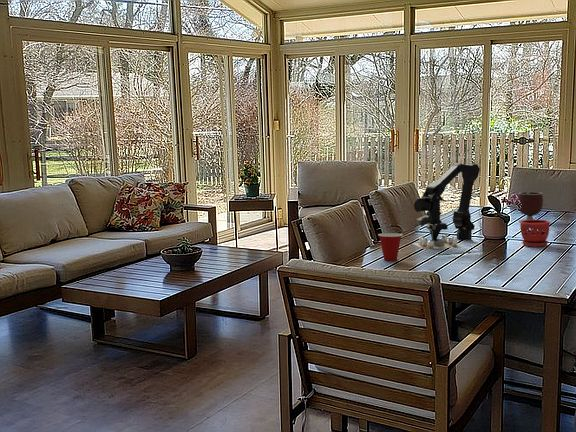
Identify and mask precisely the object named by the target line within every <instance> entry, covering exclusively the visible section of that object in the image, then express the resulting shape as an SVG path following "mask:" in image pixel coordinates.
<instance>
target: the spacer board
mask: <svg viewBox="0 0 576 432" xmlns="http://www.w3.org/2000/svg"><path fill="white" fill-rule="evenodd" d="M412 245H414V246H416V247H419V248H421V249H423V250H432V249H435V250H436V249H445V248H446V249H447V248H453V247H452V245H450V244H449V240H447V243H445V245H444V246H434V248H432V249H430V248H428V241H427V246H426V247H423V246H422V244H419V242H416V243H412ZM458 247H459V248H460V247H463V245H462V244H459V243H457V247H456V248H458Z"/></svg>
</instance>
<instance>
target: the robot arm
mask: <svg viewBox="0 0 576 432" xmlns="http://www.w3.org/2000/svg"><path fill="white" fill-rule="evenodd" d="M480 171H481V168H480V167H479V164H477V163H462V162H461V163H459V162H455V163H453V164H452V166H451V167H450V168H449V169H448V170H447V171H446V172H445V173H443V174H442V175H441V176H440V178H439V179H437V180H434V181H432V182H431V183H429V184H428V185H426V189H425V190H424V192H423V194H422V196H421V197H416V200H415V201H414V203H413V208H414V210H415V212H417V213H421V212H422V213H423V212H426V213H425V215H423V216H420V217H418V218H416V223H417V225H418V226H420V227H424V226H425V225H427V226H425V228H426V229H427V230H428V231H429V233H430V236H431V240H432V239H438V237H439V235H440V233H441V231H442V230H449V229H448V226H449V225H448V224H447V223H445V222H442V220H441V215H442V211H441V201H442V202H443V201H444V198H443V197H442V195H443V193H444V192H445V190H446V186H448V185H449V184H450V183H451V182H452V181H453V180H454V179H455V178H456V177H457V176H458V175H459V174H461V177H462V179H463V180H462V181H463V182H462V189H461V195H460V200H459V203H458V204H459V206H458V209H457V210H456V211H455V210H454V211H453V216H452V217H451V219H452V222H453V224H454V229H456V230H457V231H456V239H457V241H470V242H474V240H473V238H472V237H473V236H472V235H473V233H472V231H474V230H475V224H474V223H473V222H472V221H471V218H472V216H471V212H470V205H471V200H472V194H473V188H474V183H475V181H476V180H477V179H478V177H479V173H480Z"/></svg>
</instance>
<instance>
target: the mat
mask: <svg viewBox="0 0 576 432" xmlns="http://www.w3.org/2000/svg"><path fill="white" fill-rule="evenodd" d="M462 254H472V251H467V252H466V251H465V252H454V253H441V254H440V253H439V254H434V256H436V257H437V256H449V255H462Z"/></svg>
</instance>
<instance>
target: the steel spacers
mask: <svg viewBox="0 0 576 432" xmlns="http://www.w3.org/2000/svg"><path fill="white" fill-rule="evenodd" d="M441 239H444V240H445V243H447V241H449V244H450V245H452V247H451V248H458V247H457V244H458V239H457V238H455V236H448V234H441ZM427 242H428V248H430V249H429V250H432V248H434V241H433V240H432V239H429V240H428V238H426V237H425V236H419V237H418V243H419V244H422V246H423V247H426V246H427Z"/></svg>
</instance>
